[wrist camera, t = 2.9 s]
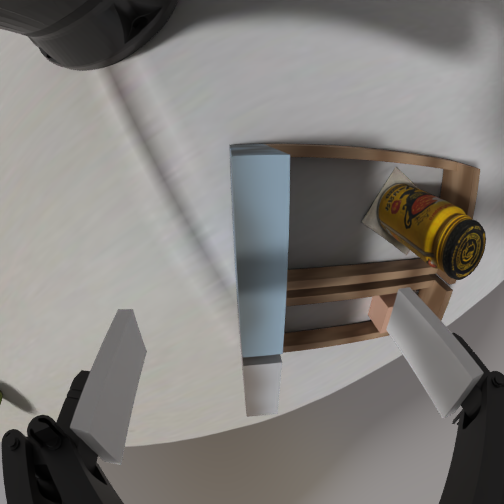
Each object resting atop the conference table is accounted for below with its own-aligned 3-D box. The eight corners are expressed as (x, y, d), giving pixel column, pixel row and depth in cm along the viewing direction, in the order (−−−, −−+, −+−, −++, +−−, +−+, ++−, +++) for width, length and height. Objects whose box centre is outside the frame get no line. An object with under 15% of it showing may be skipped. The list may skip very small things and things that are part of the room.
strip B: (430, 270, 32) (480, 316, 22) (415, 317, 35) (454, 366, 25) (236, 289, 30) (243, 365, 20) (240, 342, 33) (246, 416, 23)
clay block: (373, 289, 32) (388, 307, 29) (398, 286, 32) (414, 302, 29) (367, 314, 34) (380, 333, 30) (391, 310, 34) (405, 328, 31)
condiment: (394, 166, 26) (474, 196, 15) (435, 206, 28) (504, 246, 17) (360, 221, 28) (425, 276, 17) (405, 254, 30) (464, 309, 20)
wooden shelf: (450, 160, 25) (518, 183, 15) (432, 263, 31) (483, 309, 21) (229, 144, 23) (231, 156, 14) (236, 281, 29) (242, 357, 19)
